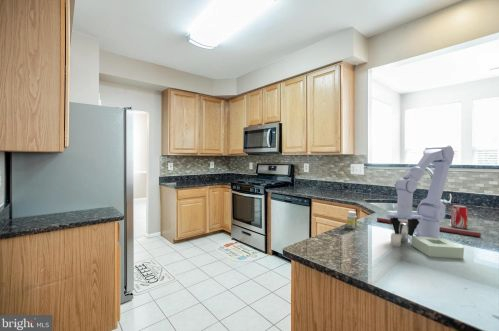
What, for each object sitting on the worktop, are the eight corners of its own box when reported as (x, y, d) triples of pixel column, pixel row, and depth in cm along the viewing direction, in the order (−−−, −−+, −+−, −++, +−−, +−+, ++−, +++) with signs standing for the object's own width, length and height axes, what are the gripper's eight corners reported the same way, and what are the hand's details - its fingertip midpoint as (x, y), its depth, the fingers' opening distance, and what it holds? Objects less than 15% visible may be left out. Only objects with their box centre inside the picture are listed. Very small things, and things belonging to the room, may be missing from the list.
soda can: (466, 229, 130) (467, 207, 129) (449, 226, 135) (450, 205, 135) (468, 227, 134) (469, 206, 134) (451, 224, 140) (452, 204, 139)
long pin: (397, 239, 111) (397, 222, 111) (405, 240, 111) (406, 222, 111) (401, 242, 108) (401, 224, 107) (409, 242, 107) (410, 225, 107)
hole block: (411, 245, 104) (412, 236, 104) (441, 247, 103) (442, 237, 103) (428, 256, 92) (429, 246, 92) (463, 258, 91) (463, 248, 91)
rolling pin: (376, 222, 143) (376, 217, 143) (377, 221, 145) (377, 216, 145) (480, 238, 116) (481, 232, 116) (479, 237, 119) (480, 230, 119)
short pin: (389, 243, 106) (389, 233, 106) (398, 243, 106) (398, 233, 105) (393, 246, 102) (393, 235, 102) (402, 246, 102) (402, 236, 102)
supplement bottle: (354, 226, 133) (354, 210, 132) (358, 228, 128) (358, 212, 128) (345, 226, 132) (345, 210, 132) (349, 228, 128) (349, 212, 127)
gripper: (391, 206, 106) (390, 236, 106) (427, 207, 104) (426, 238, 104) (384, 203, 113) (383, 232, 113) (418, 204, 111) (416, 233, 111)
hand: (403, 235), depth 109 cm, fingers open, 5 cm apart
